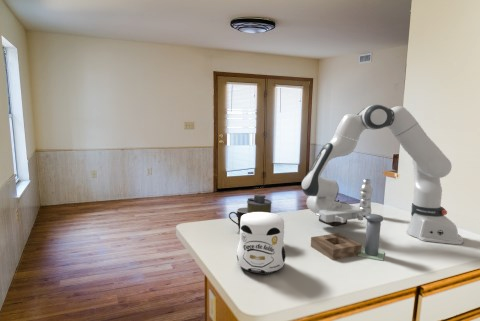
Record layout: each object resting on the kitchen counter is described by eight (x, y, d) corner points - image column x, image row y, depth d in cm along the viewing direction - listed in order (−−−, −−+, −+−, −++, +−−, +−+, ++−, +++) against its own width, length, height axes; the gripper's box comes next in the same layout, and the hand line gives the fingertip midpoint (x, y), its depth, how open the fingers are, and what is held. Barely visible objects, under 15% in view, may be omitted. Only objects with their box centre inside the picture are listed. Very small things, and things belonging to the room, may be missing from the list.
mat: (384, 252, 137) (384, 251, 137) (382, 260, 129) (382, 259, 129) (360, 248, 141) (360, 247, 141) (357, 256, 133) (358, 255, 133)
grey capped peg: (380, 252, 136) (383, 215, 134) (379, 258, 130) (382, 219, 128) (363, 248, 139) (366, 212, 137) (361, 254, 133) (364, 217, 131)
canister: (275, 240, 148) (276, 195, 145) (259, 246, 140) (261, 199, 137) (256, 233, 155) (257, 191, 152) (240, 239, 147) (241, 194, 145)
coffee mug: (258, 230, 160) (258, 209, 158) (248, 235, 153) (249, 213, 151) (237, 225, 166) (237, 205, 165) (227, 230, 159) (227, 209, 157)
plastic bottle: (372, 217, 183) (374, 181, 180) (358, 216, 184) (361, 180, 181) (370, 214, 189) (372, 179, 186) (357, 213, 190) (359, 178, 187)
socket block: (337, 241, 147) (338, 233, 147) (361, 254, 134) (361, 244, 134) (310, 246, 141) (311, 237, 141) (332, 259, 129) (333, 249, 128)
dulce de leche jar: (249, 281, 111) (250, 228, 108) (229, 260, 127) (230, 213, 124) (294, 272, 118) (296, 222, 115) (270, 253, 133) (271, 209, 131)
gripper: (313, 206, 151) (334, 214, 138) (349, 202, 159) (372, 210, 147) (312, 219, 152) (333, 229, 139) (348, 215, 160) (371, 224, 148)
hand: (353, 219), depth 143 cm, fingers open, 8 cm apart
